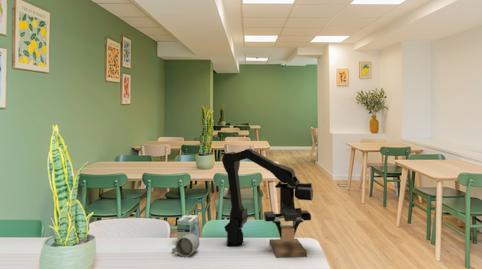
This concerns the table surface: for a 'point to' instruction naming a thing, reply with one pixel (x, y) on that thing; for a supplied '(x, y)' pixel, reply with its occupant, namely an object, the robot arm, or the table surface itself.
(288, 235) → the terracotta cube
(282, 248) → the walnut board
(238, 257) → the table surface
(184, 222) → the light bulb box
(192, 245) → the ceramic mug
